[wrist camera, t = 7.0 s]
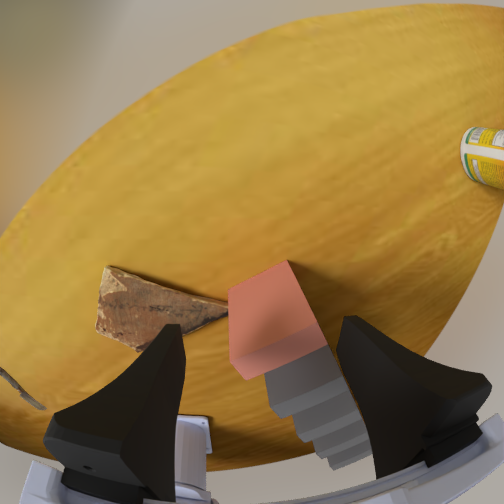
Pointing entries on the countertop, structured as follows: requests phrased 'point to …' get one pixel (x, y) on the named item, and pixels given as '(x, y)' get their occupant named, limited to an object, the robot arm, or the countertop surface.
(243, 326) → the red domino
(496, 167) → the supplement bottle
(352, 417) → the domino
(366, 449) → the domino
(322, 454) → the domino
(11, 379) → the grey brown bark strip
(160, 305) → the shard
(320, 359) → the domino
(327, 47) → the countertop surface
